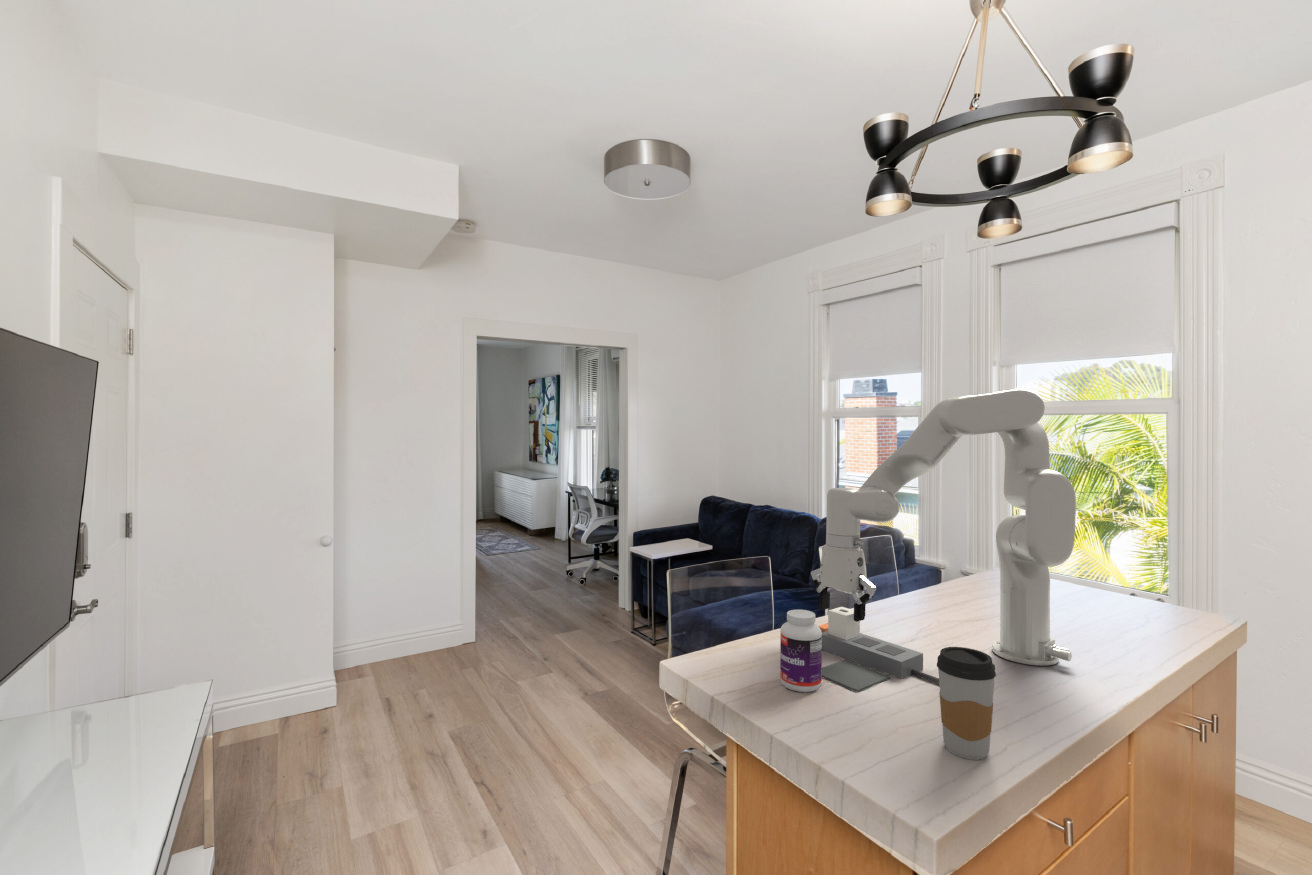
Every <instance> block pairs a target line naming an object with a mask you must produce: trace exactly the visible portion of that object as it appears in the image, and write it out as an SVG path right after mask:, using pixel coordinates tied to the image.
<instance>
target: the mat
mask: <svg viewBox="0 0 1312 875" xmlns="http://www.w3.org/2000/svg"><path fill="white" fill-rule="evenodd" d="M891 676H892V675H889V674H887V673H884V672H881V671H879V670H876V669H873V668H871V667H868V666H865V665H863V664H860V663H857V662H854V661H852V660H849V659H846V658H844V659H843V660H840V661H837V662H835V663H832V664H829V665H827V666H823V667H822V679H825V680H827V681H830V682H833V683H835V684H837V685H840V686H842V687H844V688H847V689H849V690H851V691H853V692H856V693H859V692H862V691H864V690H867V689H869V688H871V687H873V686H876V685H879V684H880V683H883V682H885V681H888V680H889V679H891Z"/></svg>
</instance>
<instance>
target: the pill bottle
mask: <svg viewBox="0 0 1312 875" xmlns="http://www.w3.org/2000/svg"><path fill="white" fill-rule="evenodd" d="M816 620H817V619H816V613H815V612H813V611H810V610H807V609H791V610H788V611H787V612H786V622H784V623H783V624H782V625H781V627H780V645H779V646H780V649H779V650H780V654H779V655H780V656H779V657H780V659H779V660H780V661H779V662H780V663H779V664H780V666H779V667H780V668H779V669H780V672H779V675H780V676H779V677H780V678H779V680H780V682H781V684H782V685H783V686H784V687H785V688H787V689H789V690H791V691H794V692H798V693H799V692H800V693H809V692H814V691H816V690H818V689H819V688H820V687H821V685H822V680H823V677H822V668H823V667H822V666H823V665H822V662H823V661H822V660H823V659H822V658H823V657H822V656H823V655H822V652H823V651H822V632H821V629H820V628H819V627H818V626H819V625H817V624H816Z"/></svg>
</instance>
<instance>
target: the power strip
mask: <svg viewBox="0 0 1312 875" xmlns="http://www.w3.org/2000/svg"><path fill="white" fill-rule="evenodd" d="M817 626H818V627H819V628H820V629H821V632H822V650H823V651H826V652H828V653H831V654H833V655H836V656H838V657H842V658H844V659H846V660H848V661H851V662H854V663H856V664H859V665H862V666H864V667H867V668H870V669H872V670H875V671H878V672H880V673H883V674H886V675H888V676H893V677H896V678H898V679H901V680H902V679H905V678H907V677H909V676H912V675H914V676H917V677H920V678H921V679H924V680H928V681H930V682H933V683H935V684H939V677H936V676H933V675H930V674H928V673H925V672H923V670H924V653H923V652H921V651H917V650H914V649H911V648H907V647H905V646H901V645H898V644H895V643H893V642H890V641H887V640H883V639H880V638H877V637H873V636H870V635H868V634H864V633H862V632H860V636H857V637H854V638H851V639H848V640H845V639H842V638H839V637H836V636H833V635H830V634H828V622H827V623H823V624H819V625H817Z"/></svg>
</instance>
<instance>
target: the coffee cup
mask: <svg viewBox="0 0 1312 875" xmlns="http://www.w3.org/2000/svg"><path fill="white" fill-rule="evenodd" d="M995 665H996V664H994V663H993V658H992V657H991V656H990V655H989V654H987V653H985V652H983V651H980V650H978V649H974V648H970V647H963V646H948V647H944V648H941V650H940V652H939V655H938V656H937V662H936V667H937V668H938V669H937V670H938V678H939V685H938V686H939V705H940V718H941V720H940V721H941V724H942V725H941V726H942V736H943V739H942V740H943V743H944V746H945V748H946V749H947V751H949V752H950V753H952V754H953V755H955V756H957V757H960V758H963V759H966V760H975V761H976V760H978V761H979V760H983V759H985V758H986V757H987V755H988V754H989V753H990V744H991V733H992V725H993V724H992V723H993V714H994V712H993V711H994V690H995V679H996V677H997V673H996V666H995Z"/></svg>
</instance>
